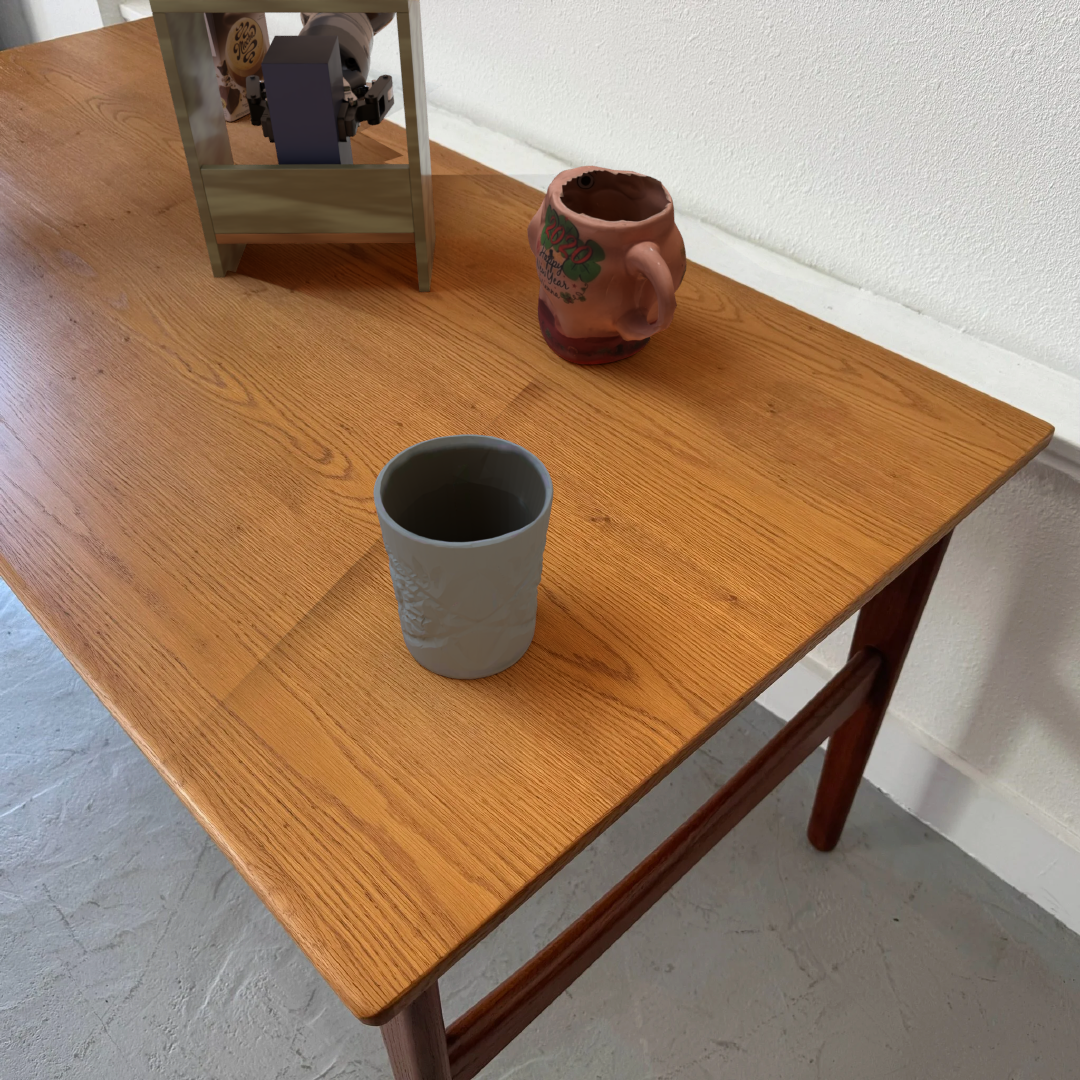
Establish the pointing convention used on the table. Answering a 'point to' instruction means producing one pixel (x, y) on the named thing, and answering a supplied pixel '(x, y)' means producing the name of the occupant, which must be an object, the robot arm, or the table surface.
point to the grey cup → (465, 549)
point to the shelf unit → (295, 189)
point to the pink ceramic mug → (605, 263)
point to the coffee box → (236, 56)
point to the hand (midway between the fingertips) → (306, 131)
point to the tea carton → (305, 99)
